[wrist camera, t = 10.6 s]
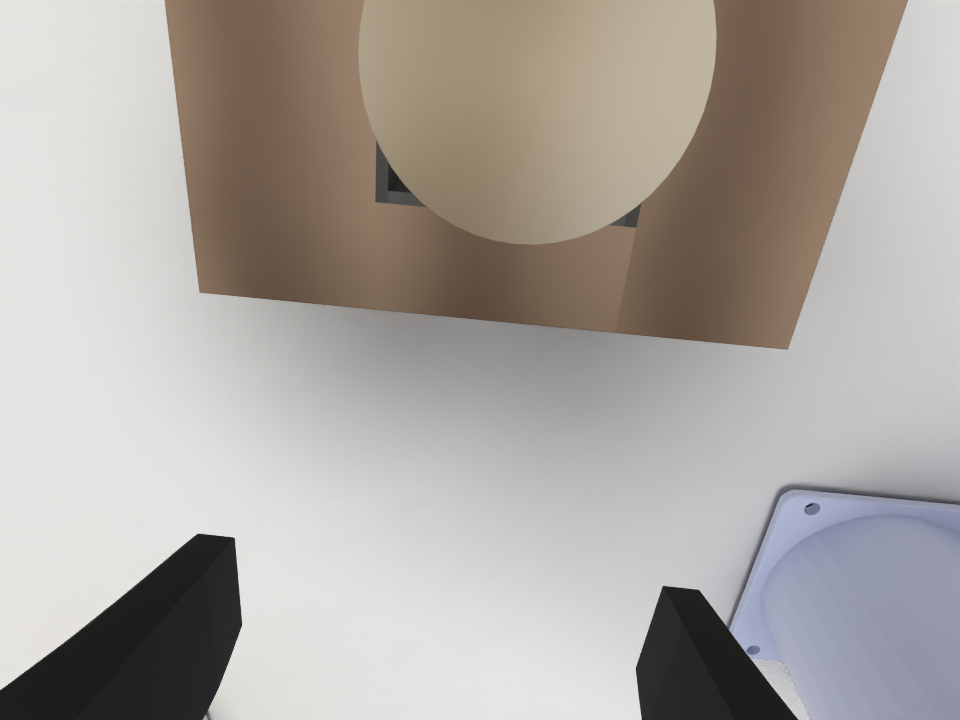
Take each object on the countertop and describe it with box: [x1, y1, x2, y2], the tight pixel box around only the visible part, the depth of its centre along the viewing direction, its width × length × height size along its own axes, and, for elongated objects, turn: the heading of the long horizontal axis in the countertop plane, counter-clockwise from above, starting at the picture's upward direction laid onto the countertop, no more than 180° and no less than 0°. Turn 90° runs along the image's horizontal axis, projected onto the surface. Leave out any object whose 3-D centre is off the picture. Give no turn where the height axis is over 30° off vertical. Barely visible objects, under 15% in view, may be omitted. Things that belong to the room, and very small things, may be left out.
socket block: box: [165, 0, 908, 350], centre depth 14 cm, size 16×12×2 cm
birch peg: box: [358, 0, 717, 245], centre depth 12 cm, size 4×4×9 cm
